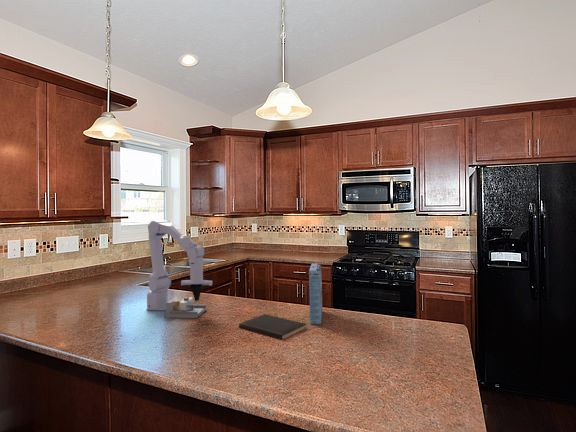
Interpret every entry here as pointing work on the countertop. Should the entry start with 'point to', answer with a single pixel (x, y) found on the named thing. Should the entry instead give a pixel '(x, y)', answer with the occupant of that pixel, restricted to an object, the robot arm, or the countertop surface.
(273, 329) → the hardcover book
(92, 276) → the countertop surface
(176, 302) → the block
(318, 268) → the gum box
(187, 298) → the sliding jaw
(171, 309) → the base
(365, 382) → the countertop surface
